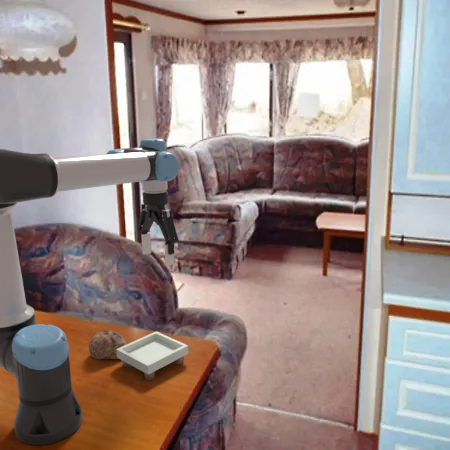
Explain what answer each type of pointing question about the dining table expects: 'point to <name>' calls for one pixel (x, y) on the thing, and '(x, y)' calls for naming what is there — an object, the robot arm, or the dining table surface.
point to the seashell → (106, 344)
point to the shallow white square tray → (152, 353)
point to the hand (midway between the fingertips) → (158, 258)
